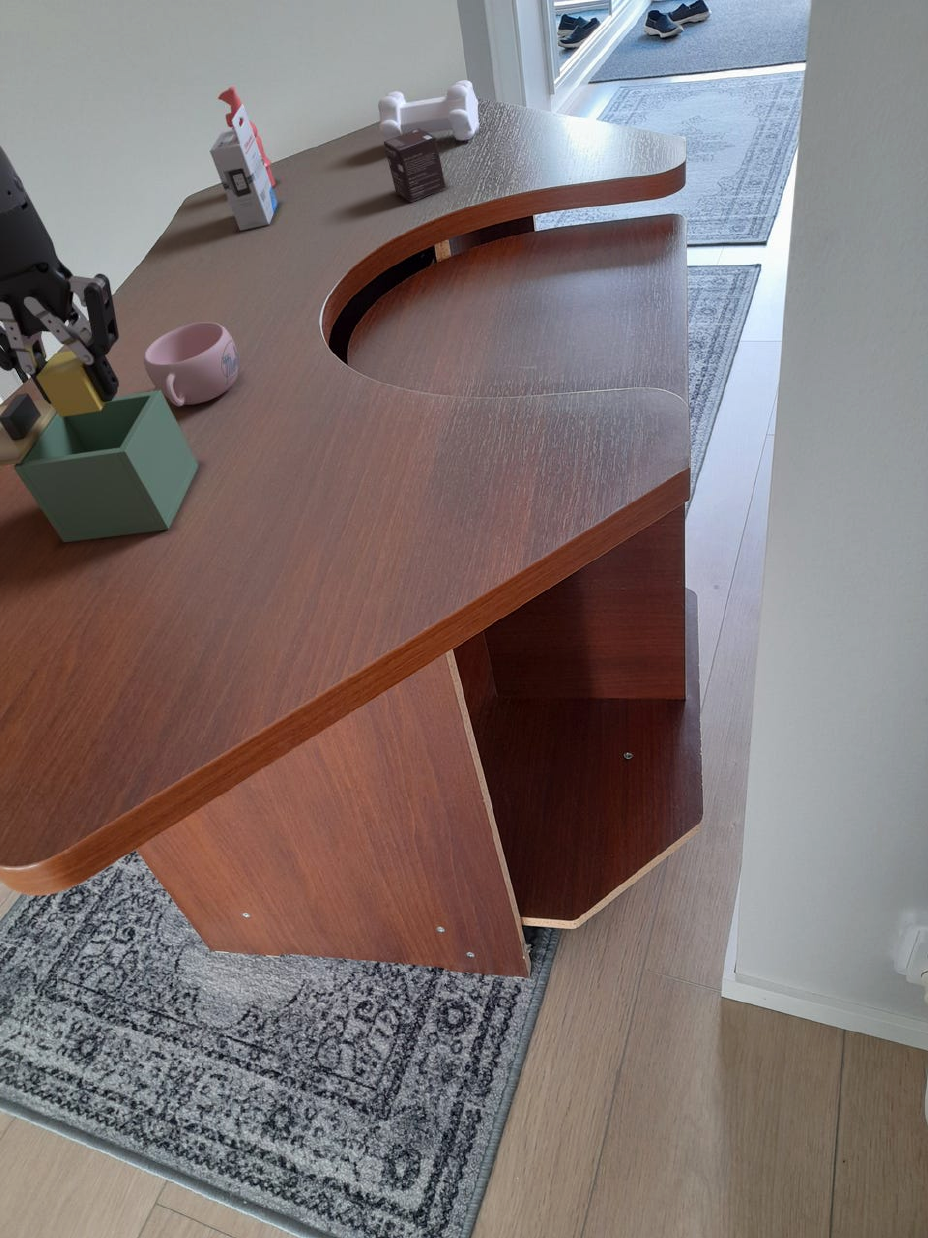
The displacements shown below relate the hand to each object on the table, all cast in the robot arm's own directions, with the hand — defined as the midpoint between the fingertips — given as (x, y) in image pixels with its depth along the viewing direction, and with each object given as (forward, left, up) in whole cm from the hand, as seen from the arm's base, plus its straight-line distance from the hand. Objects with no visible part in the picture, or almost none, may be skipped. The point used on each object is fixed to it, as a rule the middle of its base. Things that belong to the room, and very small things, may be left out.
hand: (87, 399), depth 80 cm
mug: (+14, +13, -12) cm, 23 cm away
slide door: (-8, +8, -2) cm, 12 cm away
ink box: (+47, +55, -12) cm, 73 cm away
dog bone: (+79, +50, -12) cm, 94 cm away
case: (-1, +1, -12) cm, 12 cm away
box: (+64, +35, -12) cm, 74 cm away
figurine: (+55, +67, -12) cm, 88 cm away
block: (0, 0, 0) cm, 0 cm away
